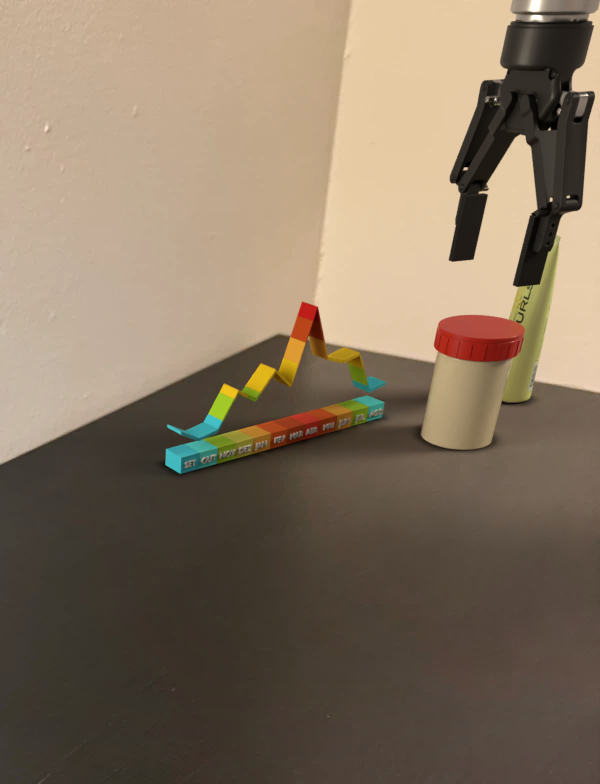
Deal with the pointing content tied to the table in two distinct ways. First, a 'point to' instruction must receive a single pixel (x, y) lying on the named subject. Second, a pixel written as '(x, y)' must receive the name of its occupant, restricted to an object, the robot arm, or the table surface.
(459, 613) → the table surface
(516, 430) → the table surface
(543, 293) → the tube
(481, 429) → the jar
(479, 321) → the lid
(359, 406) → the chart
